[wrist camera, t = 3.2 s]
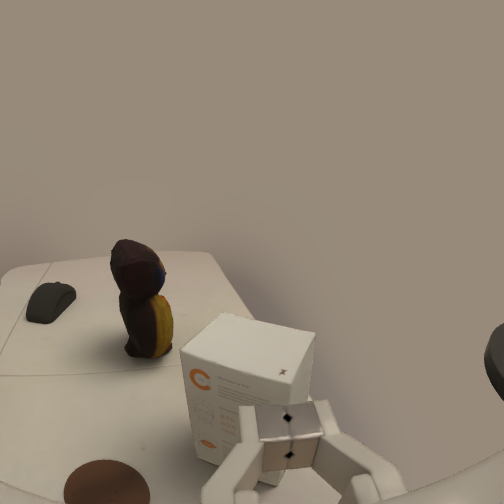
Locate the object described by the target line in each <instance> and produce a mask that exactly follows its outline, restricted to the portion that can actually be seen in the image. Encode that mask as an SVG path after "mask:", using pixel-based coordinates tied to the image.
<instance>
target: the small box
mask: <svg viewBox="0 0 504 504" xmlns="http://www.w3.org/2000/svg"><path fill="white" fill-rule="evenodd" d="M315 338H316V334H315V333H313V332H307V331H303V330H298V329H293V328H289V327H284V326H279V325H275V324H270V323H266V322H261V321H257V320H253V319H249V318H245V317H240V316H236V315H232V314H228V313H224V312H222V313H221V314H220V315H219V316H217V317H216V318H215V319H214V320H213V321H212V322H211V323H210V324H208V325H207V326H206V327H205V328H204V329H203V330H202V331H200V332H199V333H198V334H197V335H196V336H195V337H194V338H192V339H191V340H190V341H189V342H188V343H187V344H185V345H184V346H183V347H182V348H180V357H181V363H182V370H183V377H184V384H185V391H186V398H187V404H188V409H189V415H190V422H191V427H192V433H193V438H194V443H195V448H196V453H197V457H198V458H201V459H203V460H205V461H208V462H210V463H213V464H215V465H217V466H220V465H221V464H222V462H223V461H224V460H225V459H226V457H227V456H228V455H229V453H230V452H231V451H232V449H233V448H234V447H235V445H236V444H237V443H239V406H256V405H281V404H290V403H300V402H307V397H308V391H309V384H310V378H311V370H312V363H313V355H314V347H315ZM284 472H285V470H278V471H269V472H262V475H261V476H260V478H259V481H261V482H265V483H268V484H271V485H274V486H277V485H278V484H279V481H280V480H281V478H282V476H283V474H284Z"/></svg>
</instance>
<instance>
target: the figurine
mask: <svg viewBox="0 0 504 504" xmlns="http://www.w3.org/2000/svg"><path fill="white" fill-rule="evenodd" d="M111 254H112V255H111V261H110V267H111V271H112V274H113V277H114V279H115V281H116V283H117V285H118V287H119V289H120V291H121V293H120V296H119V306H120V312H121V315H122V318H123V321H124V323H125V326H126V329H127V332H128V335H129V339H128V342H127V344H126V345H125V347H124V348H125V351H126V352H127V354H128V355H129V356H132V357H142V358H158V357H159V356H161V355H163V354H165V353H167V352H168V351H170V350H171V349H172V343H171V341H172V338H173V317H172V313H171V308H170V305H169V303H168V302H167V300H166V299H165V297H164V296H162V295H159V294H158V292H159V291H160V290H161V288H162V286H163V284H164V282H165V275H166V274H167V273H166V272H165V269H164V266H163V264H162V262H161V260H160V259H159V257H158V256H157V255H156V253H155V252H154V251H153V250H152V249H150V248H149V247H147V246H146V245H143V244H141V243H138V242H135V241H133V240H127V239H124V240H119V241H118V242H117V243H116V244H115V246H114V248H113V249H112V250H111Z"/></svg>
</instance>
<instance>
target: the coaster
mask: <svg viewBox="0 0 504 504" xmlns="http://www.w3.org/2000/svg"><path fill="white" fill-rule="evenodd" d="M64 499H65V503H66V504H149V501H150V493H149V489H148V486H147V484H146V482H145V480H144V478H143V477H142V476H141V474H140V473H139V472H138V471H136V470H135V469H134V468H132V467H131V466H129V465H127V464H125V463H122V462H119V461H114V460H96V461H92V462H89V463H86V464H84V465H82V466H80V467H79V468H77V469H76V470H75V471H74V472H73V473H72V474H71V475H70V476H69V478H68V479H67V482H66V484H65V487H64Z"/></svg>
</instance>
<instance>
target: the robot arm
mask: <svg viewBox="0 0 504 504" xmlns="http://www.w3.org/2000/svg"><path fill="white" fill-rule="evenodd" d="M307 467H312V469H313V470H314V471H315V472H317V473H318V474H319V475H320V476H321V477H322V478H323V479H324V480H325V481H326V482H327V483H328V484H330V485H331V486H332V487H333V488H334V489H335V490H336V491H337V492H339V493H340V494H341V495H342V498H341V499H340V501H339V503H338V504H504V449H503V450H501V451H500V452H498V453H496V454H494V455H493V456H491V457H489V458H487V459H485V460H483V461H481V462H479V463H477V464H475V465H473V466H471V467H469V468H467V469H465V470H463V471H461V472H459V473H456V474H454V475H452V476H449V477H447V478H445V479H442V480H440V481H438V482H435V483H433V484H430V485H427V486H425V487H422V488H419V489H416V490H414V491H411V492H409V491H408V489H407V487H406V485H405V483H404V481H403V478H402V477H401V474H400V472H399V470H398V468H397V466H396V464H394V463H392V462H391V461H389V460H387V459H386V458H384V457H382V456H381V455H379V454H378V453H376V452H374V451H373V450H371V449H370V448H368V447H367V446H365V445H363V444H362V443H360V442H359V441H357V440H356V439H354V438H353V437H351V436H349V435H348V434H347V433H341V432H340V429H339V427H338V424H337V421H336V419H335V417H334V414H333V411H332V409H331V406H330V404H329V401H328V400H327V399H326V400H318V401H309V402H300V403H290V404H281V405H256V406H239V443H237V444H236V445H235V447H234V448H233V449H232V451H231V452H230V453H229V455H228V456H227V457H226V459H225V460H224V461H223V462H222V464H221V465H220V466H219V468H218V469H217V470H216V471H215V473H214V474H213V475H212V476H211V478H210V479H209V480H208V481H207V483H206V484H205V485H204V486H203V488H202V489H201V503H200V504H260V502H259V495H258V493H257V492H256V491H254V490H253V488H254V487H255V485H256V483H257V482H258V480H259V478H260V476H261V475H262V472H269V471H278V470H286V469H297V468H307ZM0 504H65V503H61V502H58V501H54V500H51V499H48V498H45V497H42V496H39V495H36V494H33V493H30V492H27V491H24V490H22V489H19V488H17V487H14V486H11V485H9V484H7V483H4V482H2V481H0Z"/></svg>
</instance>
